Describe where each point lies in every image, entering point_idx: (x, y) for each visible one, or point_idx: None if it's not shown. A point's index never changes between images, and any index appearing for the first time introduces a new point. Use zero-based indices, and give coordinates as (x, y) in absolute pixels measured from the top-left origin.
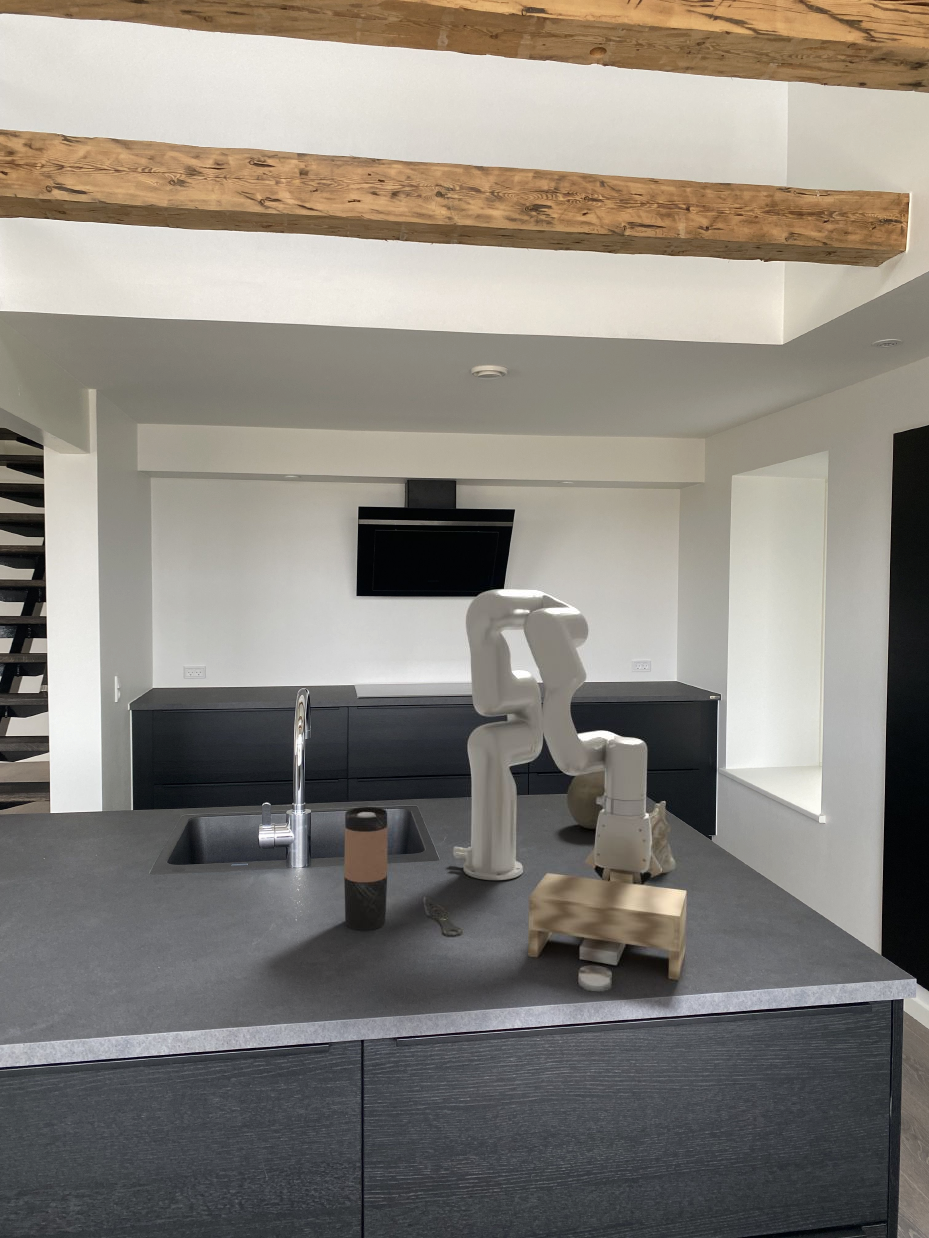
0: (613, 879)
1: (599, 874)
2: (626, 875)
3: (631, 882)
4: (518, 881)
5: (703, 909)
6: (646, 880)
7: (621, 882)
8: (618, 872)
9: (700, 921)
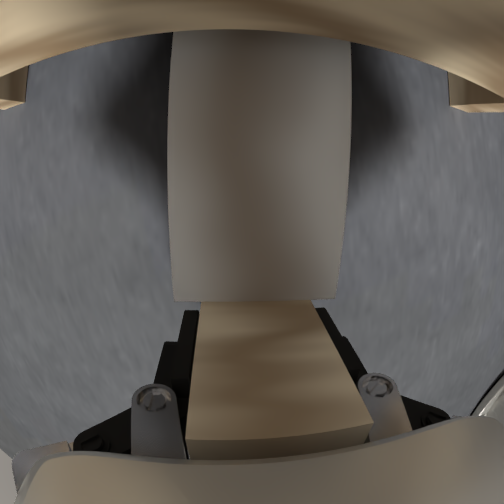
0: (331, 388)
1: (412, 403)
2: (236, 431)
3: (194, 393)
4: (485, 385)
5: (59, 412)
6: (105, 423)
7: (270, 384)
8: (308, 442)
9: (27, 345)
